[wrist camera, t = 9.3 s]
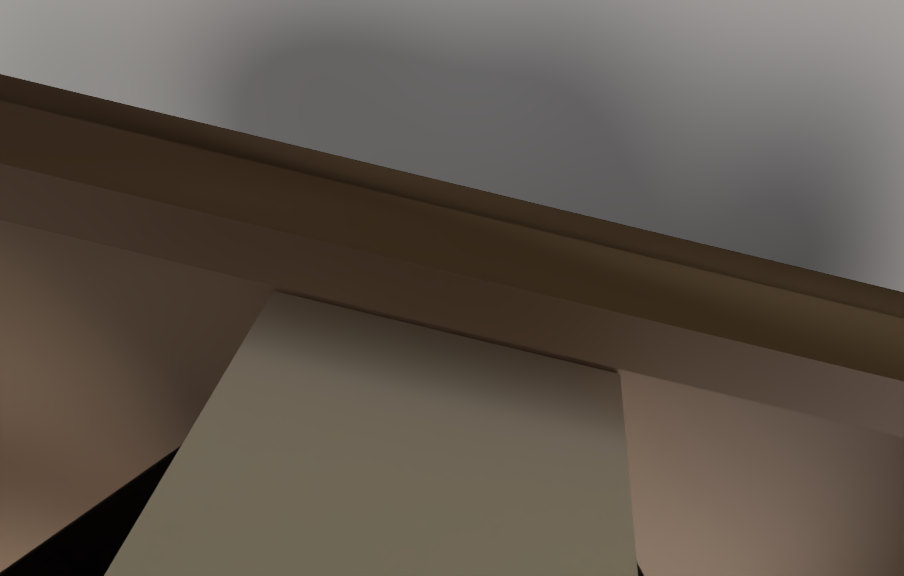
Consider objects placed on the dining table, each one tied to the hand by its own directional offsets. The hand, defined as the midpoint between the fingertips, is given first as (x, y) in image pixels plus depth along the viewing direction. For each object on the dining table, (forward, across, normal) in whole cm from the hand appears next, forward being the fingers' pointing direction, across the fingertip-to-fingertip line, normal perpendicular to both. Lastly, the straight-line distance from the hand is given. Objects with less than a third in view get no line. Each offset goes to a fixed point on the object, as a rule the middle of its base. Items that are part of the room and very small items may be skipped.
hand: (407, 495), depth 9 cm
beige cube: (+1, 0, 0) cm, 1 cm away
